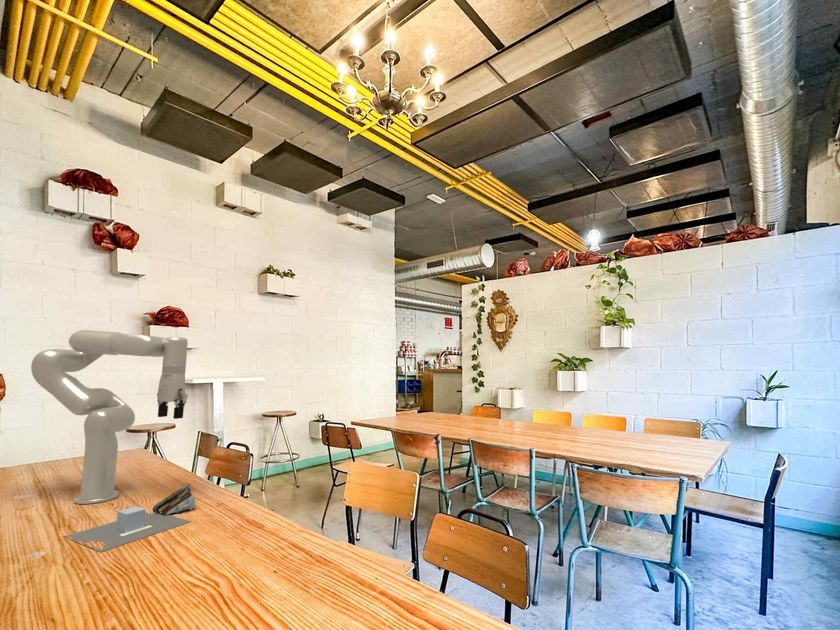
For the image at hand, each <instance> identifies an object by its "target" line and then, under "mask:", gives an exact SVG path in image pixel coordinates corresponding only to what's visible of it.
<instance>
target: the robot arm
mask: <svg viewBox="0 0 840 630" xmlns="http://www.w3.org/2000/svg"><path fill="white" fill-rule="evenodd" d="M188 343H189V342H188V339H187V338H185V337H182V336H181V337H180V336H168V337H162V336H154V335H148V334H146V335H143V334H131V333H130V334H129V333H122V332H117V331H103V330H102V331H101V330H91V329H81V330H78V331H75V332H73V333H72V334H71V335H70V337H69V338H68V345H69V347H70V348H71V349H64V348H62V349H61V348H51V349H46V350H41V351H40V352H38V353H36V355H34V357H33V358H32V361H31V365H30V370H31V375H32V377H33V379H34V380H35V381H36V383H37V384H38V385H39V386H40V387H41V388H43V389H44V390H45V391H46V392H48V393H49V394H50V395H52V396H53V397H54V399H56V400H57V401H58V402H59V403H61V404H62V405H63V406H64V408H66V409H67V410H68V411H69V412H71V413H72V414H74V415H75V416H86V417H85V419H84V422H83V431H84V452H83V453H84V456H83V463H82V464H83V466H82V476H81V485H80V489H79V490H80V491H79V492H80V493H79V495H76V496H75V497H74V498H73V503H75V504H78V505H79V504H80V505H88V504H90V505H91V504H96V503H97V504H98V503H103V502H108V501H110V500H111V501H112V500H113V499H116V498H118V497H119V494H120V492H119V491H118V490H115V485H116V471H117V461H118V450H119V442H118V438H117V435H116V433H118V432H123V431H125V430H128V429H129V428H131V427H132V426H133V424H134V423H135V420H136V415H135V411H133V409H132V407H130V406H129V405H128V404H127V403H126V402H125V401H123V400H122V399H121V398H120V397H119V396H118V395H117V394H115V393H114V392H113V391H112V390H109V389H107V388H104V387H103V388H101V387H100V388H99V387H97V388H96V387H95V388H90V387H87V386H86V385H84V384H83V383H82V382H81V381H80V380H78V379H77V378H75V376H72V375H71V374H69V373H75V372H80V371H81V370H83V369H84V370H85V368H87V367H88V366H90V365H91V364H92V363H94V362H95V361H98V359H100V358H101V357H102V356H103V355H108V356H118V355H119V356H121V355H123V356H135V357H153V358H160V357H161V358H162V365H161V366H162V367H161V369H162V370H161V375H160V378H159V383H158V390H157V393H156V396H157V410H158V411H157V417H158V418H165V417H168V412H169V405H168V403H172V402H173V404H174V408H173V416H172V417H173V419H174V420H178V419H183V418H184V409H185V407H186V403H187V399H188V398H189V397H188V394H187V393H186V371H187V370H186V367H187V357H188V345H189V344H188Z"/></svg>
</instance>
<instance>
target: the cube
mask: <svg viewBox="0 0 840 630" xmlns="http://www.w3.org/2000/svg"><path fill="white" fill-rule="evenodd" d="M145 513H146V508H143V507H140V506H132V507H130V508H126V509H122V510H118V511H117V514H116V521H117V524H116V530H118V531H121V532H124V533H127V532H130V531H133V530H136V529H140V528H143V527H144V522H145Z"/></svg>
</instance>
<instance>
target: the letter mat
mask: <svg viewBox="0 0 840 630" xmlns="http://www.w3.org/2000/svg"><path fill="white" fill-rule="evenodd" d="M148 512H150V511H147V513H146V512H145V522H144V527H143V528H140V529H136V530H133V531H130V532H127V533H124V532H121V531H118V530H116V524H117V520H115V521H113V522H108V523H105V524H102V525H99V526H94V527H92V528H91V527H90V528H87V529H84V530H81V531H78V532H74V533H70V534H66V535H63V538H65V537H66V539H68V537H69V536H70V537H72V538H71V539H72V540H73V539H74V540H73V541H72V540H71V541H72V542H75V541H76V543H77V542H78V541H79V542H80V541H81V543H83V542H84V543H89V541H94V543H95V542H104V543H105V545H104V543H103V545H104V547H103V549H99V548H98V549H97V547H96V549H95V546H94V550H93V551H96V552H98V553H103V552H106V551H108V550H112V549H115V548H118V547H120V546H124V545H127V544H129V543H133V542H136V541H140V540H141V539H145V538H147V537H151V536H153V535H156V534H159V533H162V532H164V531H168V530H171V529H174V528H177V527H179V526H183V525H185V524H188V523H191V522H192V521H191V520H187V519H185V518H181V517H177V516H174V515H172V514H168V515H163V514H162V513H160V512H154V513H153V512H152V513H153V514H151V512H150V514H148ZM70 537H69V538H70ZM95 540H96V541H95ZM85 545H86V544H85ZM87 545H88V544H87ZM87 545H86V546H87ZM82 546H84V544H83V545H82ZM86 546H85V547H86ZM87 548H89V545H88V547H87ZM92 548H93V546H92Z"/></svg>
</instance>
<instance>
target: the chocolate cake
mask: <svg viewBox="0 0 840 630" xmlns="http://www.w3.org/2000/svg"><path fill="white" fill-rule="evenodd" d="M190 485H191V484H190V483H187V484H185V485H184V486H183V487H181V488H178V490H176V491H174V492H173V493H171V494H170V495H168V496H166V497H165V498H164V499H162V500H161V501H158V502H157V503H155V504H154V505H153V507H152V511H153V512H161V513H162V514H163V515H172V514H174V513H177V514H182V511H186V510H189V511H192V510H193V509H195V508H196V499H195V496H194V495H193V493H192V489H191V487H190Z"/></svg>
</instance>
